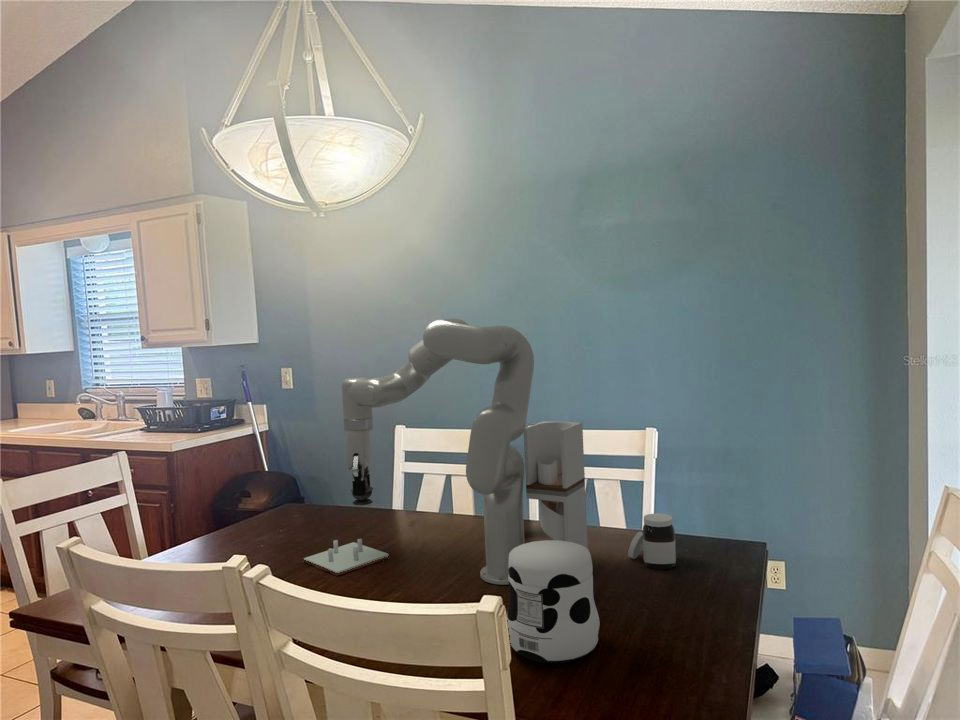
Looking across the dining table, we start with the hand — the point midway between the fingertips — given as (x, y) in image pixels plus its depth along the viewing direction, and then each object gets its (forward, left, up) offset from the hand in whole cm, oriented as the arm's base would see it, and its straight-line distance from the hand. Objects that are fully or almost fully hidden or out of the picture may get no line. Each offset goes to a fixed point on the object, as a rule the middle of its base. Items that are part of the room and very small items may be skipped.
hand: (361, 491), depth 178 cm
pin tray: (+3, +4, -18) cm, 19 cm away
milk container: (-69, +7, -18) cm, 72 cm away
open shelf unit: (-44, -27, -18) cm, 55 cm away
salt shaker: (0, 0, -3) cm, 3 cm away
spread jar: (-61, -42, -18) cm, 76 cm away
